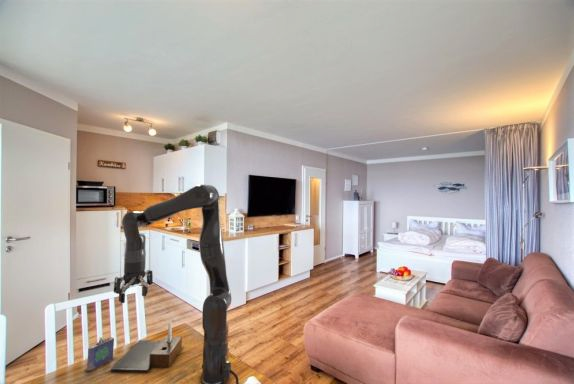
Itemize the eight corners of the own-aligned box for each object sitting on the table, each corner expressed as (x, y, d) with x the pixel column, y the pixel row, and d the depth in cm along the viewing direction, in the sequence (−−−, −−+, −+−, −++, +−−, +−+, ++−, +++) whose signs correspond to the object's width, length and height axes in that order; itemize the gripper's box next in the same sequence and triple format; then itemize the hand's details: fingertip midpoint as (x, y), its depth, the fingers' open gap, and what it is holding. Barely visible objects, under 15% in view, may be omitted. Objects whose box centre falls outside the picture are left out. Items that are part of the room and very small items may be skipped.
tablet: (169, 343, 120) (169, 340, 120) (146, 372, 100) (147, 369, 100) (139, 342, 119) (139, 340, 119) (110, 371, 99) (111, 369, 99)
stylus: (171, 352, 113) (172, 321, 113) (169, 354, 112) (171, 323, 112) (167, 352, 113) (169, 321, 113) (166, 354, 112) (167, 323, 112)
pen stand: (181, 348, 116) (181, 337, 116) (168, 367, 103) (169, 354, 103) (163, 347, 116) (164, 336, 116) (149, 366, 103) (149, 354, 103)
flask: (88, 372, 99) (90, 344, 99) (85, 369, 100) (86, 342, 100) (114, 359, 107) (115, 333, 107) (110, 357, 108) (111, 331, 108)
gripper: (120, 264, 97) (119, 307, 96) (157, 257, 109) (155, 295, 108) (111, 261, 101) (109, 302, 100) (147, 255, 113) (145, 291, 112)
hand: (133, 299), depth 104 cm, fingers open, 8 cm apart
